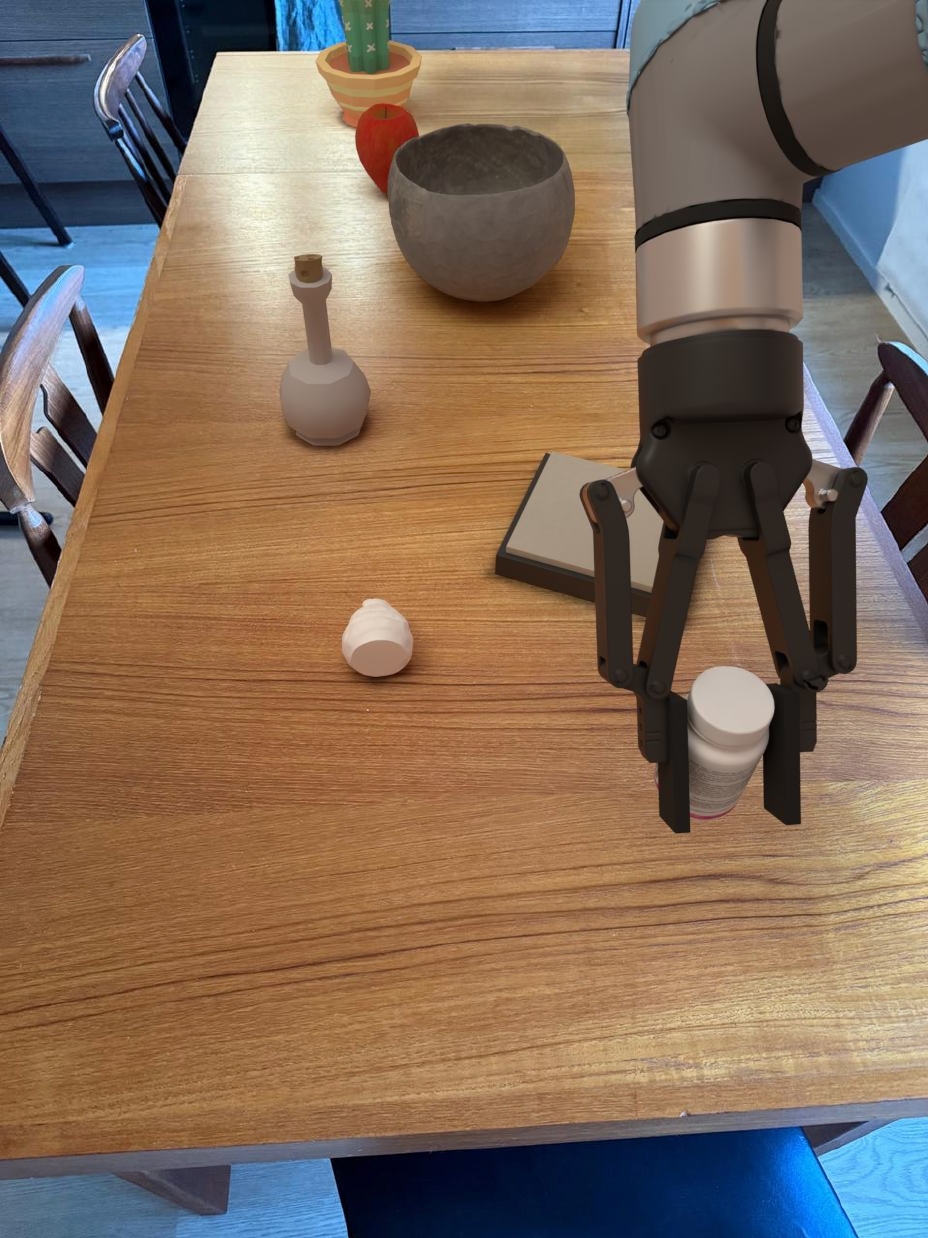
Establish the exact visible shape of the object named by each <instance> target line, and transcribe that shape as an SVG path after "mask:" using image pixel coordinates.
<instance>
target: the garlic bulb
mask: <svg viewBox="0 0 928 1238" xmlns="http://www.w3.org/2000/svg"><path fill="white" fill-rule="evenodd" d="M413 649H414V637H413V635H412V632H411V629H410V624H409V622H408V620H407V618H406V617H405V616H404V615H403V614H401V612H399V611H398V610H397V608H395V607H393V606H392V605H391V604H390V603H389V602H388V601H387V600H385V599H382V598H377V597H376V598H375V597H374V598H368V599H365V600H363V602H362V603H361V607H360V608H358V609H357V610H355V612H354V613H353V614H352V615H351V617H350V619H349V621H348V624H347V626H346V628H345V629H344V631H343V633H342V636H341V653H342V655H343V657H344V658H345V660H346V663H347V664H348V665H349V666H350V667H351V668H352V669H354V670H355V671H356V672H357V673H359V674H361V675H364V676H368V677H374V678H375V677H376V678H377V677H384V676H389V675H394V674H396V673H398V672H400V671H401V670H403V669H404V668H405V667H406V666H407V665H408V663H409V662H410V661H411V659H412V657H413Z"/></svg>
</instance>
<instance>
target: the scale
mask: <svg viewBox="0 0 928 1238" xmlns="http://www.w3.org/2000/svg"><path fill="white" fill-rule="evenodd" d="M626 470H627V469H626V468H620V467H617V466H613V465H610V464H605V463H602V462H598V461H592V460H589V459H586V458H582V457H577V456H574V455H569V454H565V453H561V452H557V451H551V452H550V453H548V452H545V453H544V455H543V457H542V459H541V461H540V463H539V466H538V467H537V470H536V472H535V473H534V476H533V478H532V480H531V481H530V484H529V486H528V488H527V490H526V492H525V494H524V496H523V498H522V501H520V502H521V503H520V504H519V507H518V509H517V510H516V513H515V515H514V517H513V519H512V521H511V523H510V525H509V526H508V529H507V531H506V533H505V535H504V537H503V540H502V542H501V543H500V546H499V548H498V550H497V552H496V553H495V563H494V564H495V566H494V574H495V575H498V576H502V577H505V578H510V579H512V580H516V581H518V582H519V581H520V582H522V583H526V584H530V585H533V586H537V587H540V588H542V589H543V588H544V589H547V590H551V591H554V592H557V593H561V594H565V595H569V596H572V597H576V598H578V599H582V600H586V601H589V602H593V603H595V578H594V549H593V530H592V527H591V525H590V522H589V520H588V517H587V515H586V512H585V510H584V507H583V505H582V502H581V500H580V495H579V494H580V489H581V488H582V486H583V485H585V484H586V483H589V482H593V481H597V480H602V479H607V478H609V477H611V476H614V475H616V474H619V473H621V472H623V471H626ZM634 504H635V508H634V511H633V513H632V514H631V516H629V517H628V518H626V520H627V524H628V529H629V539H630V568H631V602H632V614H635V615H638V616H641V617H645V618H646V616H647V611H648V606H649V601H650V597H651V592H652V587H653V582H654V578H655V573H656V568H657V563H658V558H659V553H658V545H659V540H660V535H661V530H662V526H663V520H662V518H661V517H660V516H659V514H658V513H657V512H656V510H655V509H654V508H653V507H652V505H651V504H650V503H649V501H648V500H647V499H646V497H645V496H644V495H643V493H642V492H641V491H640V490H639V489H638V490H637V492H636V493H635V496H634Z"/></svg>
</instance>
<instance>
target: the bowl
mask: <svg viewBox="0 0 928 1238" xmlns="http://www.w3.org/2000/svg"><path fill="white" fill-rule="evenodd" d="M573 178H574V177H573V172H572V170H571V166H570V162H569V160H568V158H567V156H566V153H565V151H564V150H563V148H562V147H561V146H560V144H558V143H557V142H556V141H555V140H553V139H552V138H551V137H548V136H546V135H545V134H543V133H541V132H539V131H535V130H533V129H529V128H527V127H523V126H520V125H513V126H509V125H505V124H498V123H497V124H495V123H478V124H473V123H467V122H466V123H460V124H459V123H458V124H454V125H450V126H449V125H448V126H445V127H440V128H438V129H436V130H435V129H434V130H432V131H430V132H427V133H424V134H422V135H419V137H414V138H412V139H410V140H408V141H406V142H405V143H404V145H401V147H400V148H398V149H397V151H396V152H395V154H394V157H393V160H392V163H391V167H390V171H389V177H388V192H387V194H386V196H387V204H388V213H389V217H390V223H391V227H392V231H393V234H394V237H395V240H396V243H397V245H398V248H399V250H400V252H401V254H402V256H403V258H404V259H405V262H407V264H408V265H409V266H410V268H411V269H412V270H413V271H414V272H415V273H416V274H417V275H418V276H419V277H420V279H422V280H423V281H425V282H426V283H427V284H428V285H430V286H431V287H433V288H434V289H435V290H437V291H439V292H441V293H443V294H446V295H448V296H451V297H453V298H455V299H456V298H457V299H459V300H465V301H470V302H477V303H488V302H495V301H496V302H497V301H500V300H505V299H509V298H510V297H513V296H515V295H517V294H520V293H522V292H524V291H526V290H528V289H530V288H531V287H532V286H534V285H535V284H538V283H539V282H540V281H541V280H542V279H543V278H544V277H545V276H546V275H547V274H548V273H550V271H551V270H552V268H554V266H556V265H557V264H558V263H559V261H561V259H562V258H563V255H564V254H565V252H566V250H567V247H568V244H569V242H570V238H571V234H572V230H573V225H574V220H575V214H576V189H575V185H574V184H575V183H574V179H573Z"/></svg>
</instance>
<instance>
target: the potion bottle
mask: <svg viewBox="0 0 928 1238" xmlns="http://www.w3.org/2000/svg"><path fill="white" fill-rule="evenodd" d="M293 259H294V260H293V261H294V267H293V268H294V269H293V270H292V271H291V272H289V273H288V280H289V285H290V288H291V291H292V294H293V297H294V298H295V299H297V300H298V302H299V303H300V304H301V307H302V314H303V320H304V321H303V322H304V327H305V329H304V330H305V335H306V343H307V349H302V350H301V351H300V352H298V353H297V354H296V355H295V356H294V357H293V358H291V359H290V360H289V361H288V363H287V365H286V366H285V368H284V370H283V372H282V373H281V375H280V384H279V401H280V408H281V409H280V410H281V413H282V415H283V417H284V419H285V421H286V423H287V425H288V427H289V428H291V429H293V430H295V435H296V436H297V437H298V438H299V439H301V440H304V441H305V442H306V443H308V444H310V445H312V446H315V447H316V446H317V447H320V446H322V447H323V446H324V447H325V446H326V447H329V446H332V447H335V446H336V447H337V446H341V445H343V444H344V443H347V442H348V441H351V440H353V439H354V438H356V437H358V436H359V434H360V432H361V428H362V426H363V424H364V421H365V418H366V416H367V412H368V409H369V404H370V399H371V394H372V390H371V387H370V385H369V382H368V380H367V376H366V374H365V373H364V372H363V371H362V369H361V368H360V367H359V365H357V363H356V362H355V361H354V360H353V359H352V358H351V356H350V355H349V354H348V352H346V351H345V350H344V349H340V348H336V347H332V340H331V339H332V338H331V332H330V323H329V315H328V307H327V305H328V304H327V299H328V298H329V296H330V293H331V291H332V289H333V287H332V286H333V273H332V272H331V271H330V270H329V269H328V268H327V267H325V266H323V256H322V255H321V254H318V253H317V254H316V253H306V254H299V255H296V256H293Z"/></svg>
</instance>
